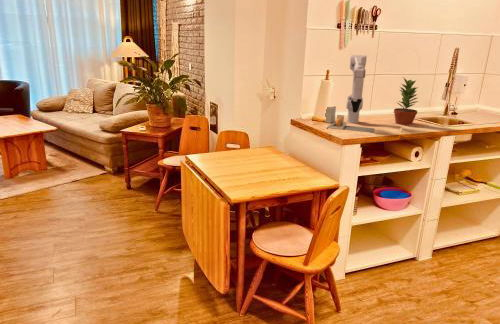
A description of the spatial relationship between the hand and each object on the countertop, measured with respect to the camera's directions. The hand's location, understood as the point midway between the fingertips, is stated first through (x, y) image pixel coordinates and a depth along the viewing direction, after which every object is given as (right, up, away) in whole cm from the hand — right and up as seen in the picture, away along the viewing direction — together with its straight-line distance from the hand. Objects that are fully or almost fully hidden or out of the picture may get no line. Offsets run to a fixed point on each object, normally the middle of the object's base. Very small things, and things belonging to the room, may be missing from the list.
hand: (355, 111), depth 235 cm
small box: (-13, -4, +22) cm, 25 cm away
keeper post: (-10, -10, +3) cm, 14 cm away
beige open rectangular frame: (-10, -9, +2) cm, 14 cm away
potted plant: (+38, -5, +21) cm, 44 cm away
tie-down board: (-3, -11, 0) cm, 11 cm away
